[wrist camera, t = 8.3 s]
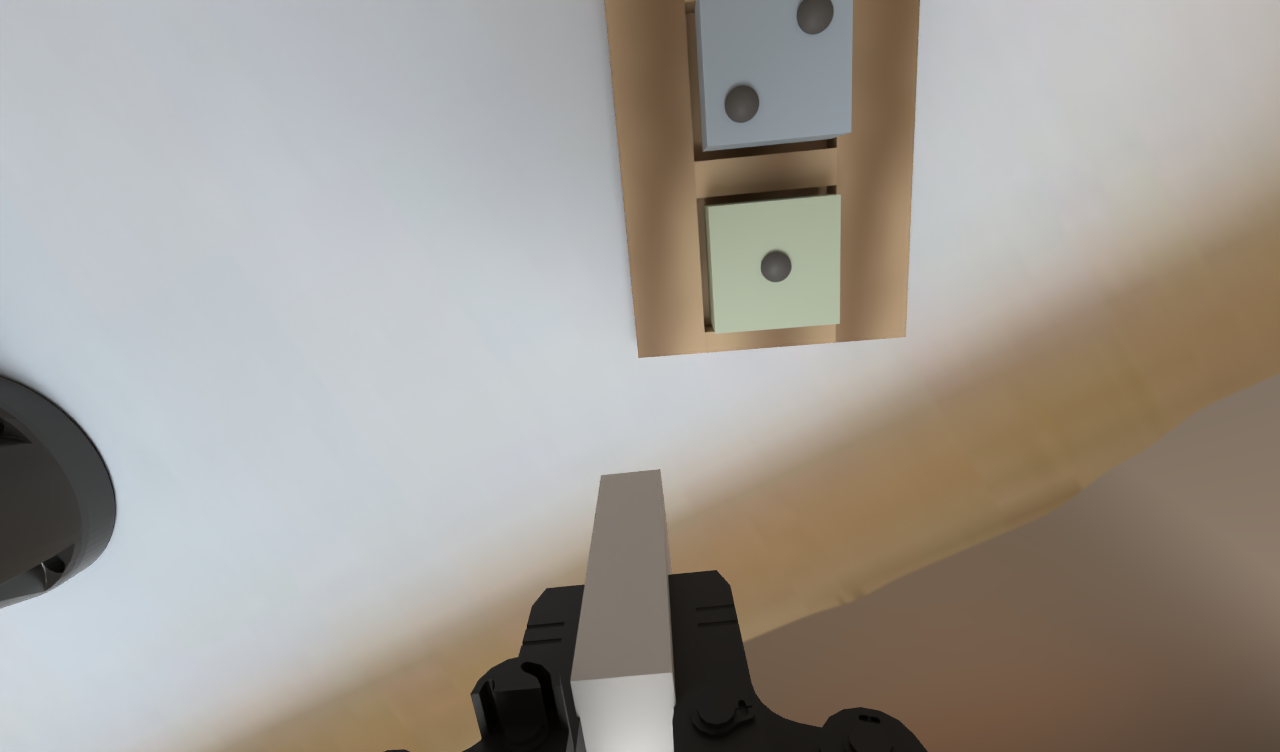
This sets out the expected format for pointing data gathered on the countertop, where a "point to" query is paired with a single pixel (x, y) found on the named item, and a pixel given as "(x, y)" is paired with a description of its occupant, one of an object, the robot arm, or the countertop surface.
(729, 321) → the tile one
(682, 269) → the tile board
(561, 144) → the countertop surface
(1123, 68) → the countertop surface
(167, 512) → the countertop surface
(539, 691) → the robot arm
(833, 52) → the tile two
